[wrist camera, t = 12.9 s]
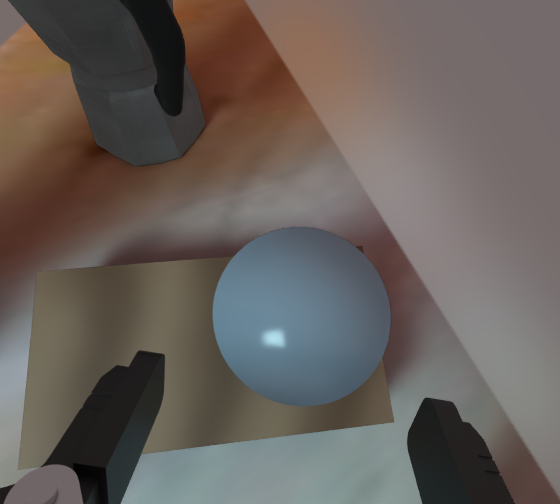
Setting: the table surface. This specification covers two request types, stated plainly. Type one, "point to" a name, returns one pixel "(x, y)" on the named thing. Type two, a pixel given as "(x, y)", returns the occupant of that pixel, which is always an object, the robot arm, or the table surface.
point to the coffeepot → (125, 72)
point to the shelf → (178, 360)
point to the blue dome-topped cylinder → (301, 316)
